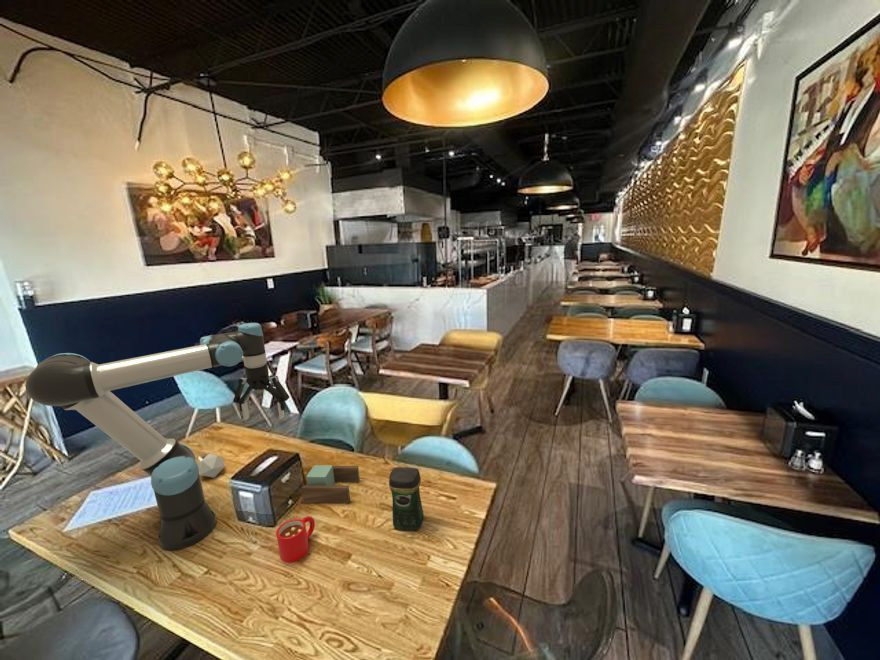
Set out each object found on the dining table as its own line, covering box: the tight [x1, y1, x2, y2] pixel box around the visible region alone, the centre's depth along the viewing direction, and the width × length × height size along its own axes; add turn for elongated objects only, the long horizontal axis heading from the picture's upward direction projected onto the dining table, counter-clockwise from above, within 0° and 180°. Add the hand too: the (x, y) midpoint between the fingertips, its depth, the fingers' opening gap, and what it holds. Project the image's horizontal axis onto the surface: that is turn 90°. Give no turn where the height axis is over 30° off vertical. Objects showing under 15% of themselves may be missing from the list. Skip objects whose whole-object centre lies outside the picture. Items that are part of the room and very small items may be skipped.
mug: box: [275, 515, 315, 564], centre depth 109 cm, size 8×12×8 cm, turn 154°
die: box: [197, 453, 226, 479], centre depth 147 cm, size 8×9×10 cm
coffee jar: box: [388, 466, 425, 531], centre depth 115 cm, size 10×8×19 cm
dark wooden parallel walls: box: [300, 465, 360, 505], centre depth 133 cm, size 13×17×6 cm
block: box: [305, 464, 336, 485], centre depth 133 cm, size 7×7×8 cm
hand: (264, 418), depth 140 cm, fingers open, 13 cm apart
